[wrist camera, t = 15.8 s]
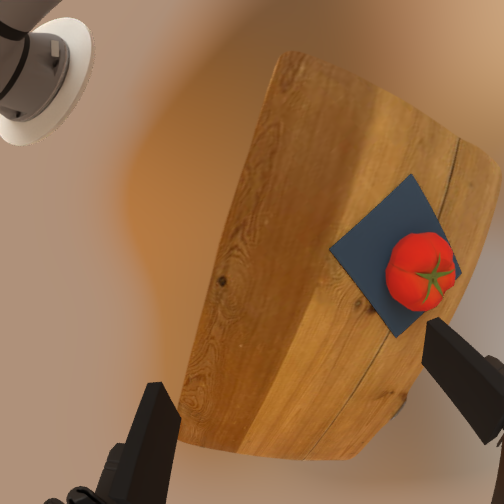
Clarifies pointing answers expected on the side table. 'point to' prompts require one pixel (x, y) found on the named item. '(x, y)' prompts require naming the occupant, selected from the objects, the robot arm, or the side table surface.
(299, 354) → the side table surface
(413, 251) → the tomato
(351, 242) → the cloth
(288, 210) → the side table surface
